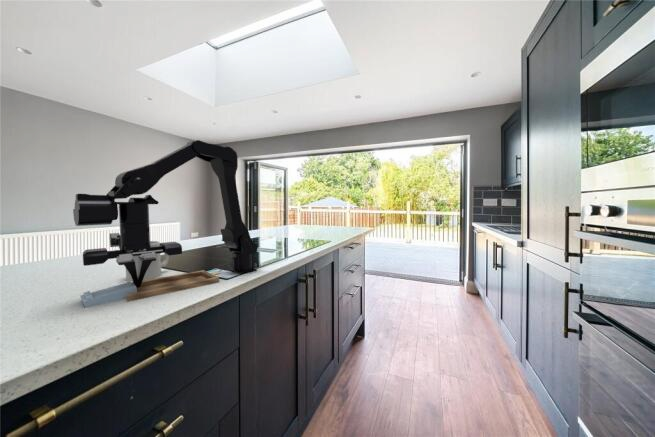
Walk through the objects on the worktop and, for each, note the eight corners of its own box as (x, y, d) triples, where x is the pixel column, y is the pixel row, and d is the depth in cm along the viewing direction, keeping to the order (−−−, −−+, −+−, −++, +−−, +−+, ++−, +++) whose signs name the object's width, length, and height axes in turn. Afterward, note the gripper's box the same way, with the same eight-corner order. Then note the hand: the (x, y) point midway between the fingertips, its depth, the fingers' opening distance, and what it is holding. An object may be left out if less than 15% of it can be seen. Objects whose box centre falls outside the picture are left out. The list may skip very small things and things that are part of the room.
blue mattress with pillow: (131, 289, 64) (129, 279, 64) (137, 294, 60) (135, 283, 60) (82, 303, 58) (79, 292, 57) (86, 310, 54) (83, 299, 53)
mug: (139, 285, 71) (137, 245, 70) (119, 282, 74) (117, 244, 73) (178, 274, 82) (176, 240, 81) (159, 272, 85) (158, 239, 84)
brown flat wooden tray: (203, 276, 79) (203, 270, 79) (219, 284, 71) (219, 277, 71) (120, 292, 65) (120, 284, 65) (127, 305, 57) (127, 296, 57)
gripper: (170, 220, 74) (172, 274, 75) (80, 224, 61) (84, 288, 62) (181, 222, 66) (183, 281, 67) (81, 226, 53) (85, 300, 54)
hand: (137, 287), depth 63 cm, fingers closed
